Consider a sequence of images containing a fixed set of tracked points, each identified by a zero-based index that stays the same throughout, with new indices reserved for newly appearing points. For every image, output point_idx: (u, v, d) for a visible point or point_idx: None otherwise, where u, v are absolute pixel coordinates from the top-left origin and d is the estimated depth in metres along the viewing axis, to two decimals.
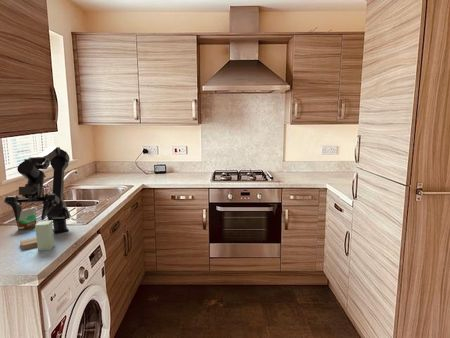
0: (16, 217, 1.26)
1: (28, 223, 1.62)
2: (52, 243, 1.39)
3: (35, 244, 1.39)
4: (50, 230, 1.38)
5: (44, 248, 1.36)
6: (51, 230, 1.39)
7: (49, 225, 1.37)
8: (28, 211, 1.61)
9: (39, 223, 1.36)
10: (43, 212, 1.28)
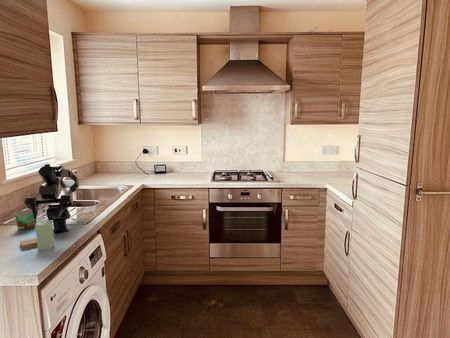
0: (34, 215, 1.40)
1: (28, 223, 1.62)
2: (52, 243, 1.39)
3: (35, 244, 1.39)
4: (50, 230, 1.38)
5: (44, 248, 1.36)
6: (51, 230, 1.39)
7: (49, 225, 1.37)
8: (28, 211, 1.61)
9: (39, 223, 1.36)
10: (59, 210, 1.42)
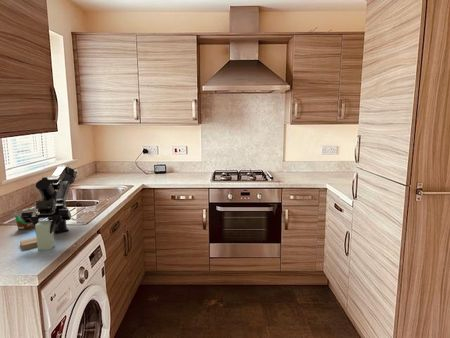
0: None
1: (28, 223, 1.62)
2: (52, 243, 1.39)
3: (35, 244, 1.39)
4: None
5: (44, 248, 1.36)
6: None
7: (49, 225, 1.37)
8: (28, 211, 1.61)
9: (39, 223, 1.36)
10: (52, 226, 1.38)
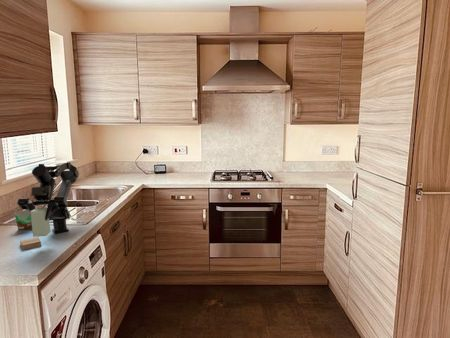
0: None
1: (28, 223, 1.62)
2: (48, 230, 1.38)
3: (35, 244, 1.39)
4: None
5: (39, 235, 1.36)
6: None
7: (44, 212, 1.36)
8: (28, 211, 1.61)
9: (35, 209, 1.36)
10: (47, 212, 1.37)
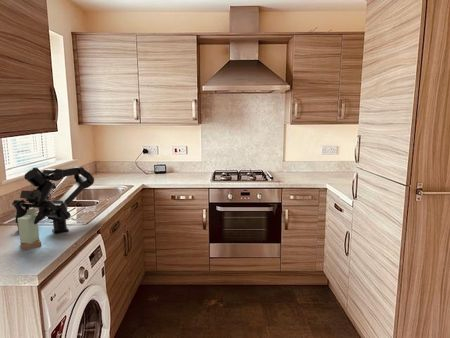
0: (16, 218, 1.40)
1: None
2: (34, 238, 1.40)
3: (36, 244, 1.39)
4: (32, 225, 1.39)
5: (25, 242, 1.38)
6: (34, 225, 1.40)
7: (29, 220, 1.38)
8: (28, 211, 1.61)
9: (23, 217, 1.39)
10: (37, 216, 1.38)
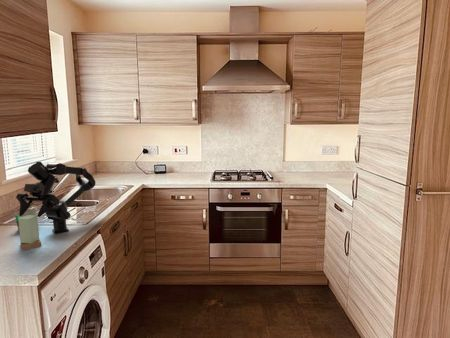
0: (20, 212, 1.41)
1: None
2: (35, 238, 1.40)
3: (36, 244, 1.40)
4: (32, 225, 1.39)
5: (25, 242, 1.38)
6: (34, 225, 1.40)
7: (30, 219, 1.38)
8: (28, 211, 1.61)
9: (24, 216, 1.39)
10: (40, 210, 1.40)
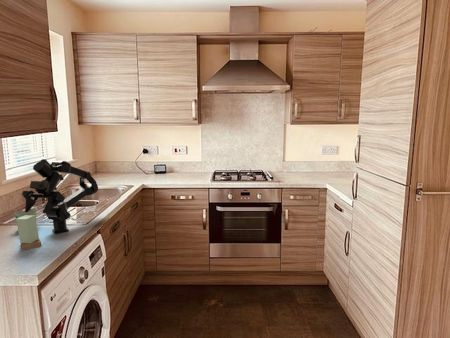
0: (26, 208, 1.44)
1: None
2: (34, 237, 1.40)
3: (36, 244, 1.40)
4: (31, 225, 1.39)
5: (25, 242, 1.38)
6: (33, 225, 1.40)
7: (28, 220, 1.37)
8: (28, 211, 1.61)
9: (22, 217, 1.39)
10: (46, 206, 1.43)
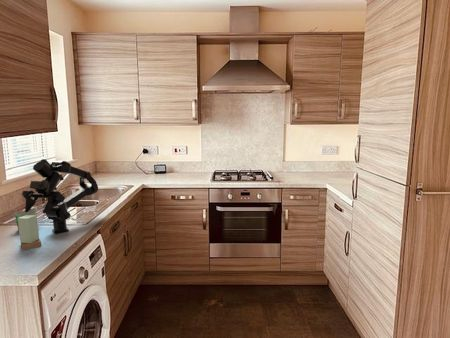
0: (26, 208, 1.44)
1: None
2: (35, 237, 1.41)
3: (36, 244, 1.40)
4: (32, 224, 1.39)
5: (25, 241, 1.39)
6: (34, 225, 1.40)
7: (30, 219, 1.38)
8: (28, 211, 1.61)
9: (23, 216, 1.40)
10: (46, 206, 1.43)
